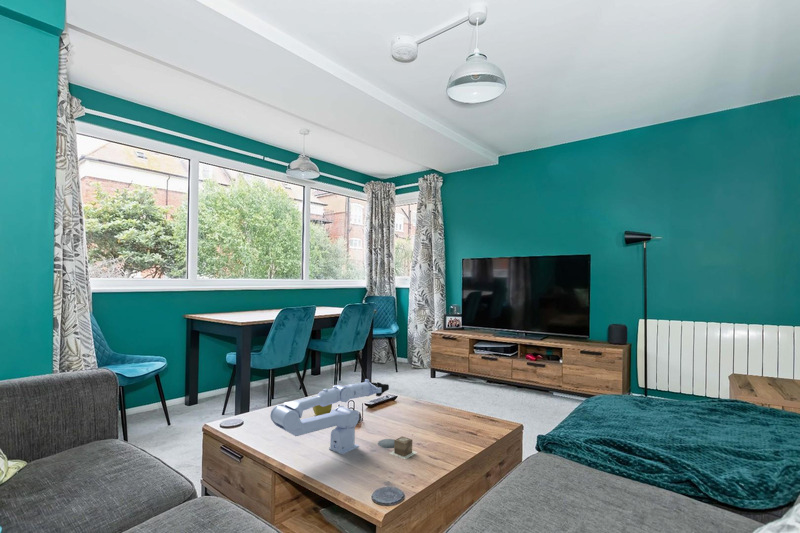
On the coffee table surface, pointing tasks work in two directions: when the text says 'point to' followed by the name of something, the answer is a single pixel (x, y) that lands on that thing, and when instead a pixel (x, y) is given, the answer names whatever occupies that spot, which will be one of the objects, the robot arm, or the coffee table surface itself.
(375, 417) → the coffee table surface
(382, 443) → the slate coaster
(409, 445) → the walnut block
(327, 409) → the flower pot
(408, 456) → the tile
